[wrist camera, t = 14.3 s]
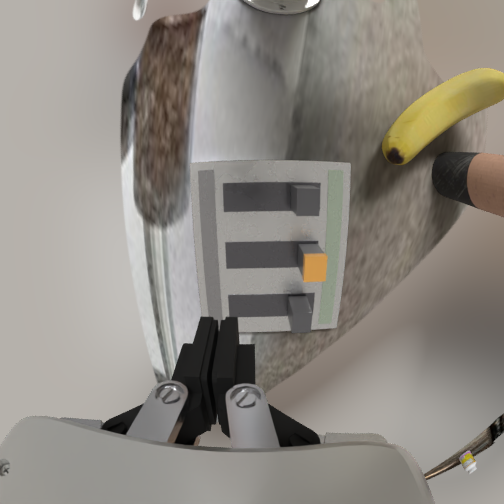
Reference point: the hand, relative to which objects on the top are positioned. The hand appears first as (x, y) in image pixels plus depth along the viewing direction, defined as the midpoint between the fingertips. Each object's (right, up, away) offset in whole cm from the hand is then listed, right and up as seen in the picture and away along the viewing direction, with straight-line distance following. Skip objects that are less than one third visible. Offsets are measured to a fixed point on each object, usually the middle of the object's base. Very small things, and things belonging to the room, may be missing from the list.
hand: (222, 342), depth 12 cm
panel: (+4, +4, +25) cm, 26 cm away
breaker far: (+8, -3, +26) cm, 27 cm away
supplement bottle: (+104, -93, +59) cm, 151 cm away
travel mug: (+32, +16, +21) cm, 42 cm away
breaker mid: (+9, +4, +23) cm, 25 cm away
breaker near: (+7, +11, +21) cm, 25 cm away
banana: (+26, +24, +19) cm, 40 cm away
